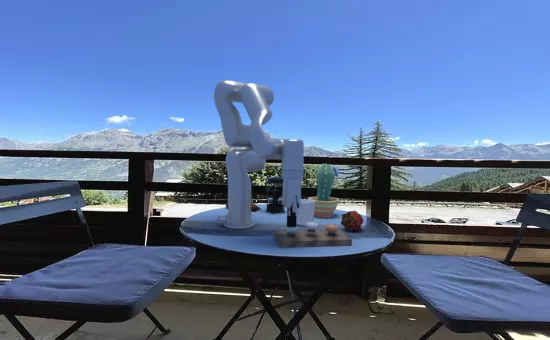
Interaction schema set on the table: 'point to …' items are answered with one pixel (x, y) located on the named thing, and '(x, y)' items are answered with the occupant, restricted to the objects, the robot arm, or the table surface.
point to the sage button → (290, 230)
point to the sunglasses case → (253, 207)
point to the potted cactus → (325, 191)
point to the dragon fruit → (352, 220)
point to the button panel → (311, 239)
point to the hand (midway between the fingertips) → (291, 226)
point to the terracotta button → (331, 228)
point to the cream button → (311, 226)
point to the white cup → (305, 212)
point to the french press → (275, 195)
